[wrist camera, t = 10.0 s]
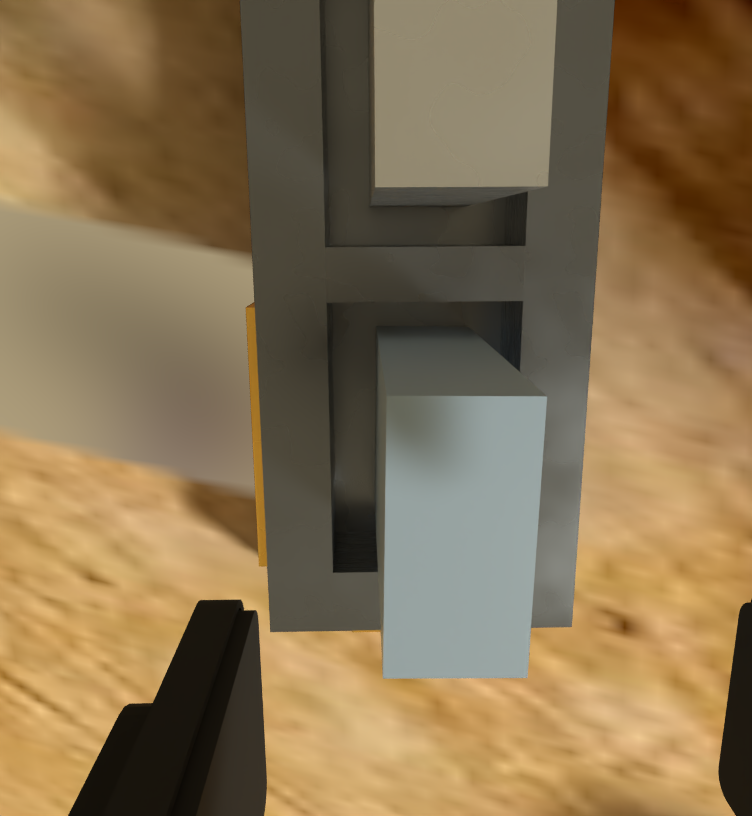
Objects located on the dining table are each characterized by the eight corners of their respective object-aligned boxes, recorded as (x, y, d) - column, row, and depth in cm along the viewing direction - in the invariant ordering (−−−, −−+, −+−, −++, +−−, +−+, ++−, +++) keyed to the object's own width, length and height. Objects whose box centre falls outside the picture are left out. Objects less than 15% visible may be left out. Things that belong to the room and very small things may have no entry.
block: (468, 326, 23) (547, 396, 13) (461, 499, 24) (527, 677, 15) (376, 325, 23) (386, 395, 13) (374, 499, 24) (383, 678, 14)
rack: (577, -114, 21) (808, -482, 10) (540, 575, 26) (663, 812, 15) (245, -115, 21) (118, -489, 10) (276, 579, 26) (216, 821, 15)
